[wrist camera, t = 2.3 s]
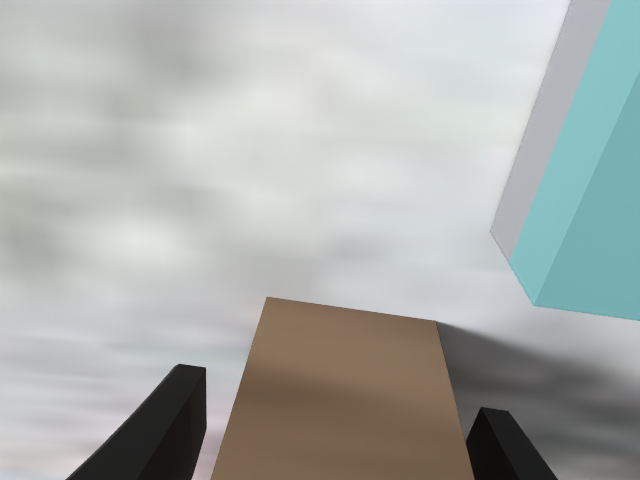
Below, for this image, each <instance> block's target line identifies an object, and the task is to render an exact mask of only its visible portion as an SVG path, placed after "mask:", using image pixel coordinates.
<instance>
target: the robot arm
mask: <svg viewBox="0 0 640 480" xmlns="http://www.w3.org/2000/svg"><path fill="white" fill-rule="evenodd" d="M206 428H207V422H206V368H205V367H198V366H191V365H184V364H178V365H176V366H175V367H174V368H173V369H172V370H171V371H170V372H169V374H168V375H167V376H166V377H165V378H164V379H163V381H162V382H161V383H160V384H159V385H158V386H157V387H156V389H155V390H154V391H153V392H152V393H151V394H150V395H149V396H148V398H147V399H146V400H145V401H144V402H143V403H142V404H141V405H140V406H139V407H138V408H137V409H136V411H135V412H134V413H133V414H132V415H131V416H130V417H129V418H128V419H127V420H126V421H125V422H124V423H123V424H122V425H121V426H120V427H119V428H118V429H117V430H116V431H115V432H114V433H113V434H112V435H111V436H110V437H109V438H108V439H107V440H106V442H105V443H104V444H103V445H102V446H101V447H100V448H99V449H98V450H96V451H95V452H94V453H93V454H92V455H91V456H90V457H89V458H88V459H87V460H86V461H85V462H84V463H83V464H82V465H81V466H80V467H79V468H77V469H76V470H75V471H74V472H73V473H72V474H71V475H70V476H69V477H68V478H67V479H66V480H191V479H192V476H193V473H194V470H195V467H196V463H197V460H198V457H199V453H200V450H201V446H202V443H203V439H204V436H205V432H206ZM465 443H466V447H467V451H468V455H469V459H470V463H471V467H472V471H473V475H474V479H475V480H558V479H557V478H556V476H555V475H554V473H553V472H552V471H551V469H550V468H549V467H548V465H547V464H546V463H545V461H544V460H543V458H542V457H541V456H540V454H539V453H538V452H537V450H536V449H535V447H534V446H533V445H532V443H531V442H530V440H529V439H528V438H527V436H526V435H525V434H524V432H523V431H522V429H521V428H520V427H519V425H518V424H517V422H516V421H515V420H514V418H513V417H512V416H511V414H510V413H509V412H508V411H504V410H497V409H490V408H483V407H481V408H480V410H479V412H478V415H477V417H476V419H475V422H474V424H473V426H472V428H471V431H470V433H469V435H468V437H467V440H466V442H465Z"/></svg>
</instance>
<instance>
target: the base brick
mask: <svg viewBox="0 0 640 480" xmlns="http://www.w3.org/2000/svg"><path fill="white" fill-rule="evenodd" d="M490 232H491V234H492V236H493V238H494V239H495V241H496V243H497V244H498V246H499V248H500V249H501V251H502V253H503V255H504V256H505V258H506V260H507V261H508V263H509V265H510V267H511V268H512V270H513V272H514V273H515V275H516V277H517V278H518V280H519V282H520V284H521V285H522V287H523V289H524V290H525V292H526V294H527V296H528V297H529V299H530V301H531V302H532V304H533V306H539V307H546V308H553V309H560V310H567V311H574V312H581V313H588V314H595V315H602V316H609V317H616V318H623V319H630V320H637V321H640V0H571V3H570V6H569V9H568V12H567V15H566V17H565V20H564V23H563V26H562V29H561V32H560V34H559V37H558V40H557V43H556V46H555V49H554V51H553V54H552V57H551V60H550V63H549V66H548V68H547V71H546V74H545V77H544V80H543V83H542V85H541V88H540V91H539V94H538V97H537V100H536V102H535V105H534V108H533V111H532V114H531V117H530V119H529V122H528V125H527V128H526V131H525V134H524V136H523V139H522V142H521V145H520V148H519V151H518V153H517V156H516V159H515V162H514V165H513V168H512V170H511V173H510V176H509V179H508V182H507V185H506V187H505V190H504V193H503V196H502V199H501V202H500V204H499V207H498V210H497V213H496V216H495V219H494V221H493V224H492V227H491V230H490Z"/></svg>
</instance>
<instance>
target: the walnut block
mask: <svg viewBox="0 0 640 480" xmlns="http://www.w3.org/2000/svg"><path fill="white" fill-rule="evenodd" d="M211 480H475V479H474V475H473V471H472V467H471V463H470V459H469V455H468V451H467V447H466V443H465V439H464V435H463V431H462V427H461V423H460V419H459V414H458V410H457V406H456V402H455V398H454V394H453V390H452V386H451V382H450V378H449V374H448V370H447V366H446V362H445V358H444V354H443V350H442V346H441V342H440V338H439V334H438V330H437V326H436V322H435V321H432V320H425V319H418V318H411V317H404V316H397V315H390V314H383V313H377V312H370V311H363V310H356V309H349V308H342V307H335V306H328V305H321V304H314V303H307V302H300V301H293V300H286V299H279V298H272V297H267V298H266V301H265V304H264V308H263V311H262V314H261V317H260V321H259V324H258V327H257V330H256V334H255V337H254V340H253V343H252V347H251V350H250V353H249V356H248V360H247V363H246V366H245V369H244V373H243V376H242V379H241V382H240V386H239V389H238V392H237V395H236V399H235V402H234V405H233V408H232V412H231V415H230V418H229V421H228V425H227V428H226V431H225V434H224V438H223V441H222V444H221V447H220V451H219V454H218V457H217V460H216V464H215V467H214V470H213V473H212V477H211Z"/></svg>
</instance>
